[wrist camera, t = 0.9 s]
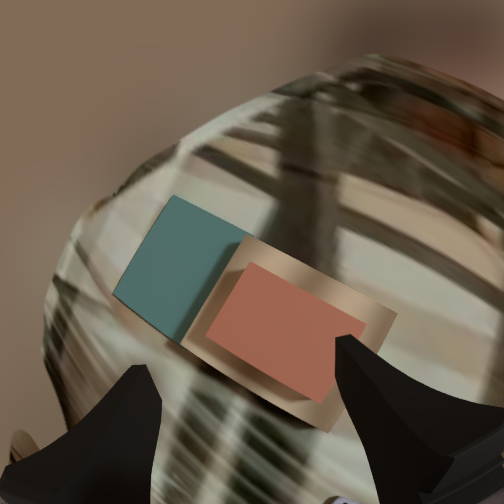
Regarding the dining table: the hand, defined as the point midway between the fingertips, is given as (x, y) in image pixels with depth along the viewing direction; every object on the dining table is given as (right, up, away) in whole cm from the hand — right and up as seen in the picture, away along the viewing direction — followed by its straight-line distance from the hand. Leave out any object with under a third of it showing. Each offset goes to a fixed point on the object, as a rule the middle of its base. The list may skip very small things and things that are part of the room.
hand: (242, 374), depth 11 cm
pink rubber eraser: (+3, -1, +11) cm, 11 cm away
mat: (-6, +3, +16) cm, 17 cm away
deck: (+3, -2, +13) cm, 13 cm away
